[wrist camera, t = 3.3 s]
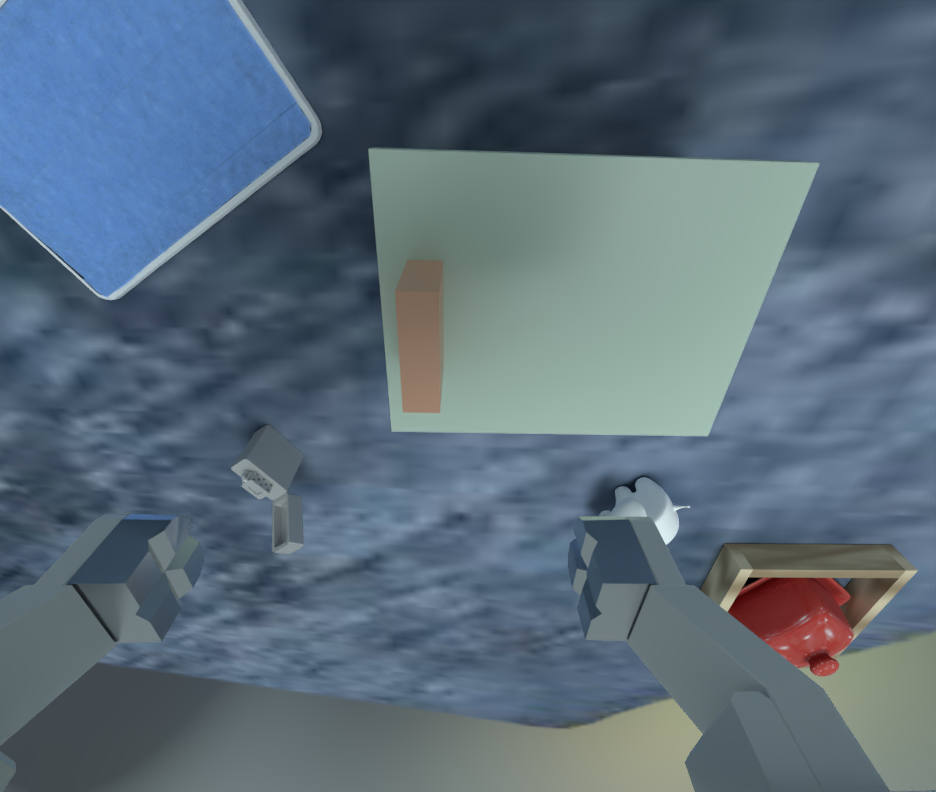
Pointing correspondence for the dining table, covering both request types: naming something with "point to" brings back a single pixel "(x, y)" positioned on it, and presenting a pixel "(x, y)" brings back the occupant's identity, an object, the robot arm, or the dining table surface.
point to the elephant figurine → (647, 506)
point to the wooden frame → (815, 573)
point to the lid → (572, 285)
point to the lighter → (274, 484)
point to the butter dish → (797, 619)
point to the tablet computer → (138, 127)
